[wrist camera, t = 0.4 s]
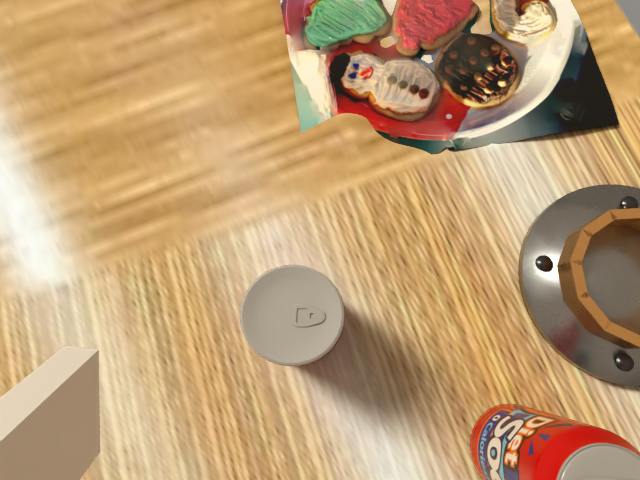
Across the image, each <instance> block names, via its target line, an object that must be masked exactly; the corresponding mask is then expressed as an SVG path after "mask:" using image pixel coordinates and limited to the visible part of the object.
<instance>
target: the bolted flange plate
mask: <svg viewBox="0 0 640 480" xmlns="http://www.w3.org/2000/svg"><path fill="white" fill-rule="evenodd" d="M518 274H519V284H520V290H521V294H522V298H523V301H524V304H525V307H526V309H527V312H528V314H529V316H530V318H531V320H532V322H533V323H534V325H535V327H536V328H537V330H538V331H539V333H540V334H541V336H542V337H543V338H544V339H545V340H546V342H547V343H548V344H549V345H550V346H551V347H552V348H553V349H554V350H555V351H556V352H557V353H558V354H559V355H560V356H561V357H563V358H564V359H565V360H567V361H568V362H569V363H571V364H572V365H573V366H575V367H577V368H578V369H580V370H582V371H584V372H585V373H587V374H589V375H592V376H594V377H597V378H599V379H601V380H605V381H608V382H612V383H615V384H621V385H628V386H636V387H640V189H639V188H635V187H631V186H623V185H597V186H590V187H586V188H582V189H579V190H576V191H574V192H571V193H569V194H567V195H565V196H563V197H562V198H560V199H558V200H557V201H555V202H554V203H552V204H551V205H550V206H549V207H547V208H546V209H545V210H544V211H543V212H542V213H541V214H540V215H539V216H538V217H537V218H536V219H535V221H534V222H533V224H532V225H531V227H530V228H529V230H528V232H527V234H526V236H525V238H524V241H523V244H522V247H521V252H520V257H519V272H518Z"/></svg>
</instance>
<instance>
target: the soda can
mask: <svg viewBox="0 0 640 480" xmlns="http://www.w3.org/2000/svg"><path fill="white" fill-rule="evenodd" d="M470 451H471V457H472V461H473V463H474V466H475V468H476V470H477V472H478V474H479V475H480V477H481V478H482V479H483V480H640V452H639V451H638V450H637V449H636V448H635V447H633V446H632V445H631V444H630V443H629V442H627V441H626V440H624V439H623V438H621V437H620V436H618V435H616V434H614V433H612V432H610V431H608V430H605V429H602V428H599V427H596V426H592V425H589V424H585V423H582V422H578V421H575V420H571V419H568V418H564V417H561V416H557V415H554V414H550V413H547V412H543V411H540V410H536V409H533V408H529V407H526V406H522V405H517V404H502V405H498V406H495V407H492V408H490V409H489V410H487V411H486V412H485V413H483V414H482V415H481V416H480V418H479V419H478V420H477V422H476V424H475V426H474V428H473V431H472V434H471V440H470Z"/></svg>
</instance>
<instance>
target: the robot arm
mask: <svg viewBox="0 0 640 480" xmlns="http://www.w3.org/2000/svg"><path fill="white" fill-rule="evenodd" d="M99 452H100V411H99V351H98V350H96V349H88V348H79V347H70V346H64V347H63V348H62V349H60V350H59V351H58V352H57V353H55V354H54V355H53V356H52V357H50V358H49V359H48V360H47V361H45V362H44V363H43V364H42V365H40V366H39V367H38V368H37V369H35V370H34V371H33V372H32V373H31V374H29V375H28V376H27V377H26V378H24V379H23V380H22V381H21V382H19V383H18V384H17V385H16V386H14V387H13V388H12V389H11V390H9V391H8V392H7V393H6V394H4V395H3V396H2V397H1V398H0V480H80V479H81V477H82V476H83V475H84V473H85V472H86V470H87V469H88V468H89V466H90V465H91V463H92V462H93V461H94V459H95V458H96V457H97V455H98V454H99Z"/></svg>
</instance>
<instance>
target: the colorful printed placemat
mask: <svg viewBox="0 0 640 480" xmlns="http://www.w3.org/2000/svg"><path fill="white" fill-rule="evenodd" d="M280 2H281V7H282V13H283V19H284V25H285V32H286V38H287V44H288V50H289V57H290V63H291V69H292V76H293V82H294V88H295V95H296V101H297V108H298V114H299V120H300V127H301V132H303V131H305V130H307V129H309V128H311V127H313V126H315V125H318V124H319V123H321V122H323V121H325V120H327V119H329V118H331V117H333V116H336V115H338V114H341V113H354V114H359V115H362V116H364V117H366V118H367V119H368V120H369V122H370V123H371V125H372V126H373V128H374V129H375V130H376V132H377V133H379V134H380V135H381V136H383V137H384V138H386V139H388V140H390V141H392V142H395V143H398V144H402V145H406V146H411V147H415V148H418V149H421V150H424V151H426V152H428V153H430V154H436V153H439V152H441V151H442V150H443V149H444V148H445V147H447V148H448V149H449V150H459V149H466V148H474V147H482V146H487V145H489V144H491V143H494V144H502V143H507V142H513V141H518V140H523V139H528V138H533V137H538V136H543V135H548V134H553V133H560V132H566V131H573V130H581V129H588V128H596V127H604V126H611V125H618V124H619V123H618V119H617V116H616V112H615V109H614V106H613V103H612V100H611V98H610V95H609V92H608V90H607V87H606V85H605V82H604V79H603V77H602V74H601V72H600V69H599V67H598V64H597V62H596V59H595V56H594V54H593V51H592V48H591V45H590V43H589V40H588V37H587V34H586V32H585V29H584V27H583V24H582V22H581V20H580V18H579V15H578V13H577V12H576V10H575V8H574V6H573V4H572V3H571V1H570V0H490V24H491V28H492V33H491V34H486V35H481V34H473V33H471V30H470V29H471V27H472V26H473V25H474V24H475V22H476V19H477V14H478V12H479V7H478V6H477V4H475V3H474V2H473V1H472V0H397V2H396V5H395V9H394V12H393V14H392V16H390V15H389V13H388V12H387V10H386V9H385V7H384V6H383V3H382V0H280ZM388 36H392V37H393V39H394V43H393V45H392V46H390V47H388V48H384V47H382V46H380V40H382V39H383V38H386V37H388ZM423 55H432V60H433V62H432V63H429V64H428V63H426V62H425V61H423V60H421V57H422V56H423Z"/></svg>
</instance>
